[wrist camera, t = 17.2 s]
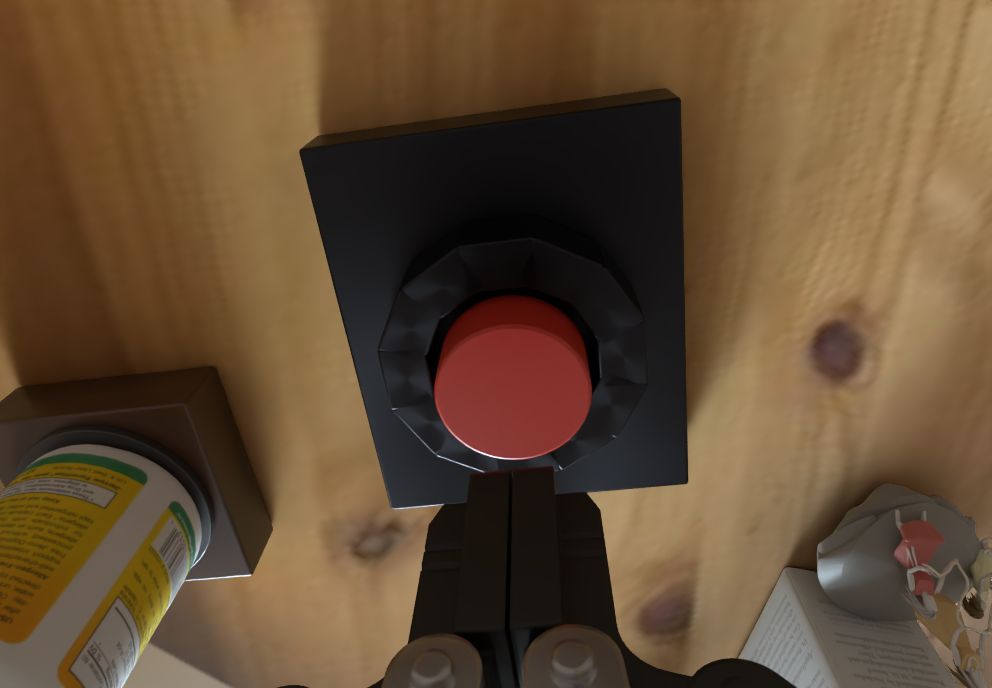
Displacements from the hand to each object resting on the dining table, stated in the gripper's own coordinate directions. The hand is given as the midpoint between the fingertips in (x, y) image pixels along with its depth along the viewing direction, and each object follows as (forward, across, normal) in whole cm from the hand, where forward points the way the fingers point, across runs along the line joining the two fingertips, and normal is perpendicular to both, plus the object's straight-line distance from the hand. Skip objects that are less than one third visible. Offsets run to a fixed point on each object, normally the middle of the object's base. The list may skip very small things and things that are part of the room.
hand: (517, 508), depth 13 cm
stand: (+9, +13, +4) cm, 16 cm away
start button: (+6, 0, 0) cm, 6 cm away
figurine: (+9, -11, +9) cm, 16 cm away
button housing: (+8, 0, 0) cm, 9 cm away
